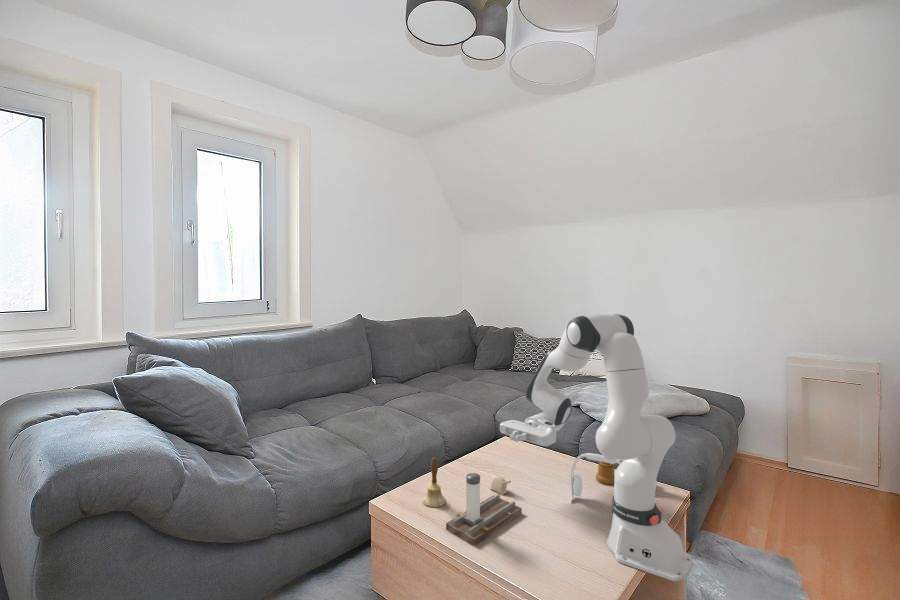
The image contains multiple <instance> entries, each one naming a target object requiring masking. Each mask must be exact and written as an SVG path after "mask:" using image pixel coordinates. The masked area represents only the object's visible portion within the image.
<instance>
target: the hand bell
mask: <svg viewBox="0 0 900 600" xmlns="http://www.w3.org/2000/svg"><path fill="white" fill-rule="evenodd" d="M438 470H439V463H438V461H437V457H432V459H431V463H430V472H431V484H428V486H427V492H426V495H425V496H424V497H423V499H422V500H421V501H422V504H423V505H424V506H425V507H429V508H439V507H442V506H443V505H445V504H446V500H447V499H446V498H445V496H443V493H442V490H441V485H440V484H438V482H437V481H438V479H437V478H438V477H437V475H438Z"/></svg>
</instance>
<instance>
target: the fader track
mask: <svg viewBox="0 0 900 600" xmlns="http://www.w3.org/2000/svg"><path fill="white" fill-rule="evenodd" d="M522 511H523V509H522V507H520V506H519V505H517V504H516V500H515V501H514V500H512V501H511V502H509V501H507V500H505V499H503V498H501V494H500V493H498V494H496V495H494V494H493V495H492V496H490V497H488V498H486V499H485V500H482V501H480V517H481V518H483V520H482V521H481V522H479V523H478V524H476V525H475V526H471V525H469V524H468V523H466V522H464V521H463V517H465V516H466V511H465V512H463V513H461V512H460V513H458V514H457V516H456V517H454V518H452V519H451V520H449V521H447V522H446V523H445V529H446V530H447V531H448V532H450V533H451V534H453V535H455V536H457V537H459V538H461V539H462V540H463V541H466V542H467V543H469V544H471V545H472V546H475V547H476V546H477V545H478V544H480V543H481V542H482V541H484V540H485V539H487V538H488V537H490V536H492V535H493V534H495V533H496V532H497V531H499V530H500V529H502V528H503V527H504V526H506V525H507V524H509V523H511V522H512V521H513V520H515V519H516V518H518V517H519V516H520V515H522V514H523V512H522Z"/></svg>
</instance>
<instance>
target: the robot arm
mask: <svg viewBox="0 0 900 600" xmlns="http://www.w3.org/2000/svg"><path fill="white" fill-rule="evenodd" d="M634 328H635V327H634V324H633V323H632V321H631V319H630V318H629V317H628V316H626V315H622V314H618V313H617V314H616V313H615V314H601V313H595V314H589V315H580V316H577V317H574V318H572V319H571V320H569V321H568V324H567V326H566V327H565V330H564V331H563V333H562V336H561V338H560V340H559V344H558V346H557V347H556V348H555V347H553V348H551V349H550V350H548V351H547V353H546V354H544V356H543V358H542V360H541V362H540V363H539V365H538V367H537V370H536V371H535V373H534V375H533V377H532V378H531V379H530V381H529V382H528V384H527V386H526V387H525V391H524V394H525V398H526V400H527V401H528V402H530V403H532V404H533V405H535V406H537V407H538V408H539V409H540V410H542V411H541V412H539V413H538V414H535V415H531V416H529V417H527V418H525V420H524V421H520V420H519V421H518V420H515V419H510V420H506V421H502V422H500V423H499V431H500V434H503V435H507V436H509V440H511V441H513V442H520V441H525V442H529V443H532V444H535V445H538V446H542V447H549V446H551V445H552V444H555V443H556V441H557V432H558V431H561V429H562V428H563V427H564V426H565V424H566V422H567V421H568V419H569V418H570V417H571V413H572V411H573V405H572V404H573V403H572V399H571V398H569V397H568V396H567V395H565V394H564V393H563V392H562V391H560V390H558V389H557V388H556V387H554V386H553V385H551V383H549V382H548V380H547V379H548V378H549V376H550V374H551V372H552V371H553V369H557V370H560V371H564V372H575V371H576V372H577V371H580V370H582V369H583V368H584V367H586V365H587V364H588V362H589V360H590V357H591V355H592V353H594V352H595V351H598V352H599V353H600V354H601V355H602V357H603V363H604V371H605V377H606V378H605V379H606V384H607V394H608V395H607V396H608V401H607V409H606V413H605V416H604V419H603V421H602V423H601V425H600V426H599V427H598V428H597V429H596V433H595V444H596V448H597V450H598V451H599V453H600V455H603V456H604V457H605V458H607V459H609V460H619V461H621V462H622V463H621V464H620V465H619V464H618V466H617V468H616V469H615V470H614V475H615V477H614V484H613V485H614V486H613V488H614V489H613V496H612V501H611V514H612V518H611V519H612V520H611V526H610V530H609V533H608V534H609V535H608V537H607V540H606V544H607V546H608V549H610V551H611V552H612V553H613V554H614V558H615V560H616V561H617V562H618V563H620V564H623V565H626V566H629V567H631V568H634V569H638V570H640V571H643V572H646V573H647V574H648V573H649V574H652V575H655V576H658V577H660V578H663V579H666V580H669V581H672V582H677V581H678V582H679V581H682V580H684V579H685V578H687V576H689V574H691V572H692V569H693V566H694V565H693V564H694V563H693V559H692V558H693V557H692V556H691V554H690V553H687V551H684V546H683V541H682V539H681V537H680V535H679V534H677V532H675V531H674V529H672V528H671V527H670V526H669V525H668V524H667V523H666V522H665V520H663V519H662V518H663V516H662V515H663V513H664V508H663V507H662V508H661V509H659V507H658V506H657V504H656V490H657V487H656V482H657V479H658V475H659V472H660V468H661V465H662V462H663V460H664V458H665V456H666V454H667V452H668V451H669V449H670V448H671V447H672V446H673V445H674V443H675V441H676V438H677V437H676V431H675V427H674V424H673V423H672V422H671V421H670V420H669V419H668V418H667V417H665V416H663V415H660V414H643V415H642V414H641V413H642V412H641V411H642V408H643V405H644V403H645V402H646V400H647V399H648V398H649V394H650V391H649V386H648V379H647V374H646V368H645V363H644V362H645V361H644V359H643V358H644V357H643V354H642V351H641V348H640V346H639V342H638V340H637V338H636V337H635V336H634V335H635V329H634ZM655 489H656V490H655Z"/></svg>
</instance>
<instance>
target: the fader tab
mask: <svg viewBox="0 0 900 600" xmlns="http://www.w3.org/2000/svg"><path fill="white" fill-rule="evenodd" d="M465 483H466V484H465V485H466V503H465V504H466V511H465V512H466V516H465V517H463V521H464V522H466V523H468V524H469V525H471V526H475V525H476V524H478V523H479V522H481V521H482V520H483V518H481V517H480V503H481V475H480V474H478V473H475V472H471V473H468V474H466V475H465Z"/></svg>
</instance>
